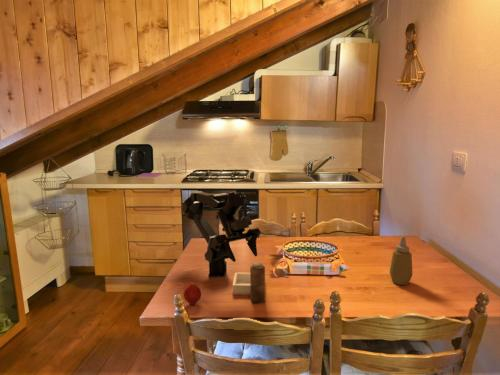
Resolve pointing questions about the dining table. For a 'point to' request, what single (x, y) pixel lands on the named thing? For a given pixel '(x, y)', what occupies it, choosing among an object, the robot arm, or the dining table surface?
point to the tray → (242, 284)
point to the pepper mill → (257, 283)
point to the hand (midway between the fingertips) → (245, 258)
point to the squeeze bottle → (401, 264)
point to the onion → (192, 294)
